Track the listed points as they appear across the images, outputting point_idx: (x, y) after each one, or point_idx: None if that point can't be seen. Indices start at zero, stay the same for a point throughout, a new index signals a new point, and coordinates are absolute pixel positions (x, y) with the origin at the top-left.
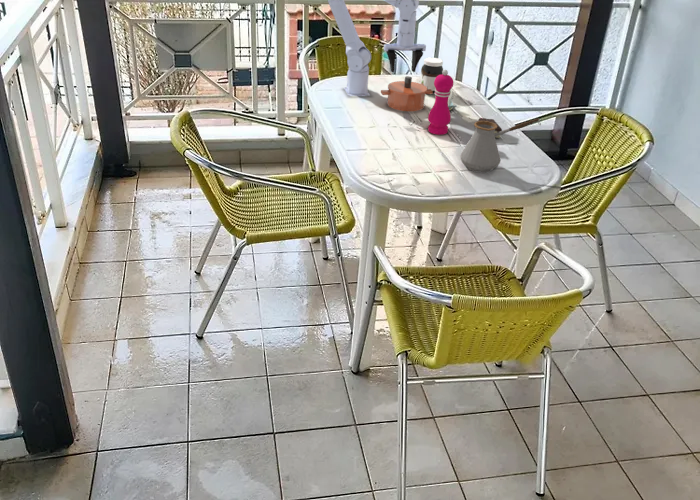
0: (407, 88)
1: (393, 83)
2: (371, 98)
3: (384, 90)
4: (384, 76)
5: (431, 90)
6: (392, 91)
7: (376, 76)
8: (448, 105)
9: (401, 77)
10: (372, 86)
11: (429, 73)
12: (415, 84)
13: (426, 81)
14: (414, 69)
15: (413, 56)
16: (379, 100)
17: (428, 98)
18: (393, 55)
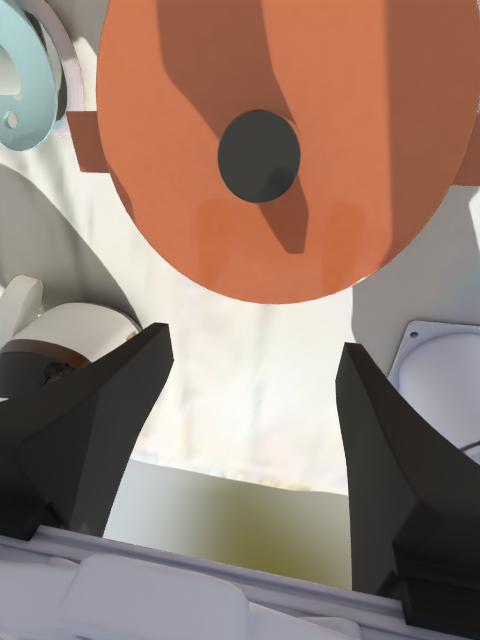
0: (283, 99)
1: (353, 260)
2: (416, 298)
3: (475, 170)
4: (246, 475)
5: (73, 136)
6: (475, 41)
7: (272, 480)
8: (7, 59)
9: (193, 458)
10: (329, 418)
11: (67, 367)
12: (181, 216)
13: (105, 341)
14: (149, 332)
15: (113, 460)
16: (389, 264)
17: (126, 259)
18: (466, 494)
